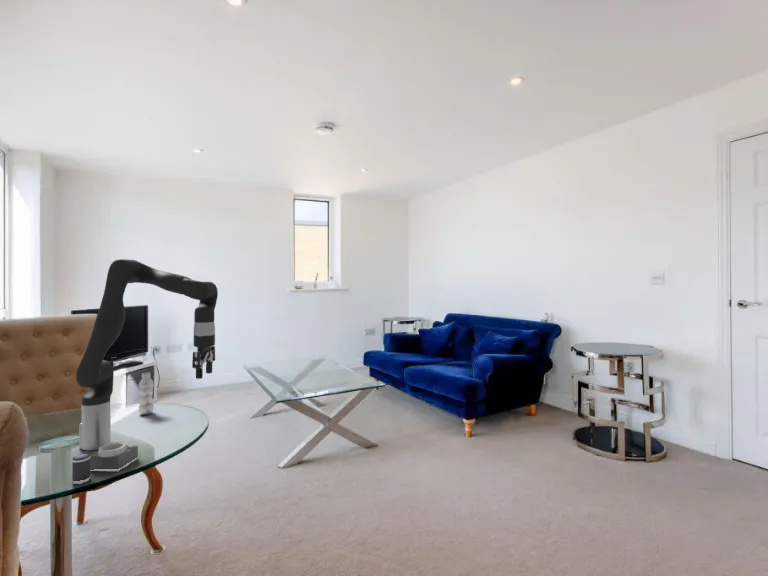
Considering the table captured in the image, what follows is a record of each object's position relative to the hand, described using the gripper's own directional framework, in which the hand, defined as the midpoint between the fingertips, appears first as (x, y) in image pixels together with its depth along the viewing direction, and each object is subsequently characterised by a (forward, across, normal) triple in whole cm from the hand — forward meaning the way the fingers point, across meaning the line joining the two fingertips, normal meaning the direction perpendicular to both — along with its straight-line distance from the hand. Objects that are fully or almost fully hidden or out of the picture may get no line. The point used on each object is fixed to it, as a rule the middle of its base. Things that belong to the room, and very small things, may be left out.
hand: (204, 375), depth 154 cm
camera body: (+29, +14, -25) cm, 41 cm away
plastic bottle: (+29, -41, -46) cm, 69 cm away
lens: (+29, +25, -28) cm, 47 cm away
